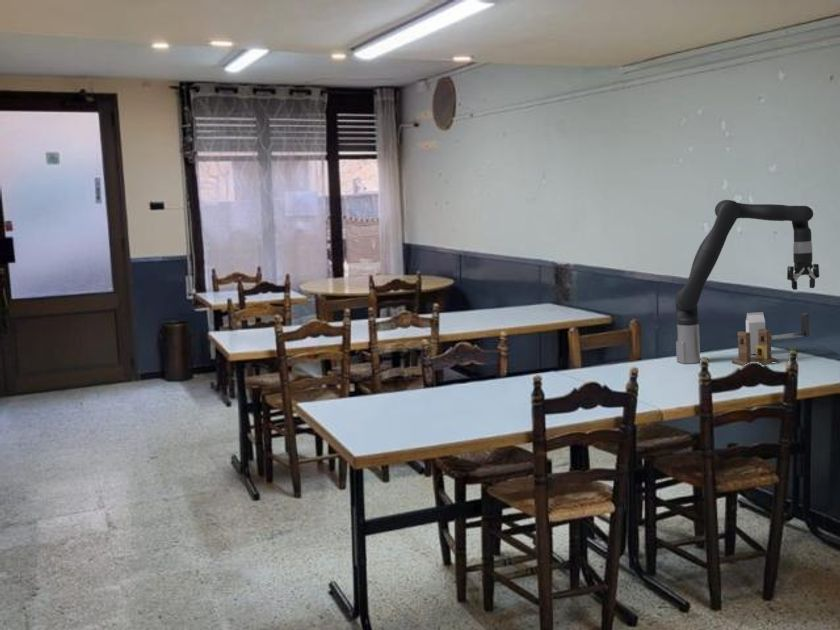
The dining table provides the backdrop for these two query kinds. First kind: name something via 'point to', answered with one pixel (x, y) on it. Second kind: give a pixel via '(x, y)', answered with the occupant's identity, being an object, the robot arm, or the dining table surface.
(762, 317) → the milk carton
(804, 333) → the grey l-shaped piece
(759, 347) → the spacer
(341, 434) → the dining table surface
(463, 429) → the dining table surface
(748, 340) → the stand
